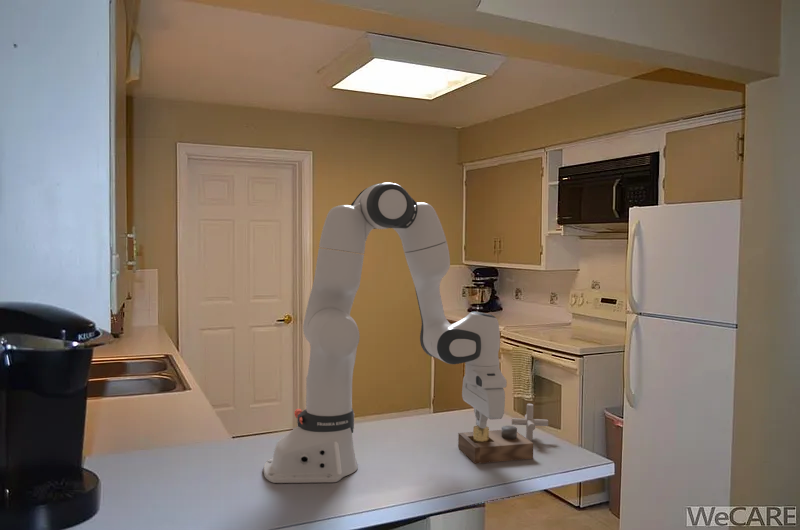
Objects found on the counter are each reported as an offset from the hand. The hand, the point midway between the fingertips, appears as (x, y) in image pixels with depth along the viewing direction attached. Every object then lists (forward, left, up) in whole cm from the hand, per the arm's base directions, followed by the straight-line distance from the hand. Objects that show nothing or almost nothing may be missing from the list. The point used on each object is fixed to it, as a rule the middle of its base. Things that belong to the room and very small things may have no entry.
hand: (481, 426), depth 157 cm
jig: (+4, 0, -7) cm, 8 cm away
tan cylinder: (0, 0, -7) cm, 7 cm away
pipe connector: (+18, +8, -7) cm, 21 cm away
